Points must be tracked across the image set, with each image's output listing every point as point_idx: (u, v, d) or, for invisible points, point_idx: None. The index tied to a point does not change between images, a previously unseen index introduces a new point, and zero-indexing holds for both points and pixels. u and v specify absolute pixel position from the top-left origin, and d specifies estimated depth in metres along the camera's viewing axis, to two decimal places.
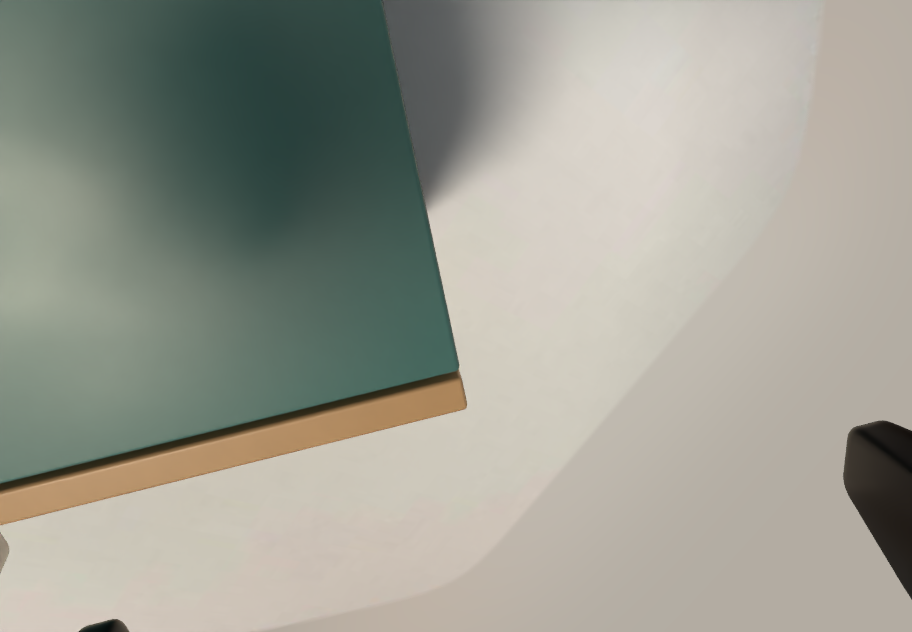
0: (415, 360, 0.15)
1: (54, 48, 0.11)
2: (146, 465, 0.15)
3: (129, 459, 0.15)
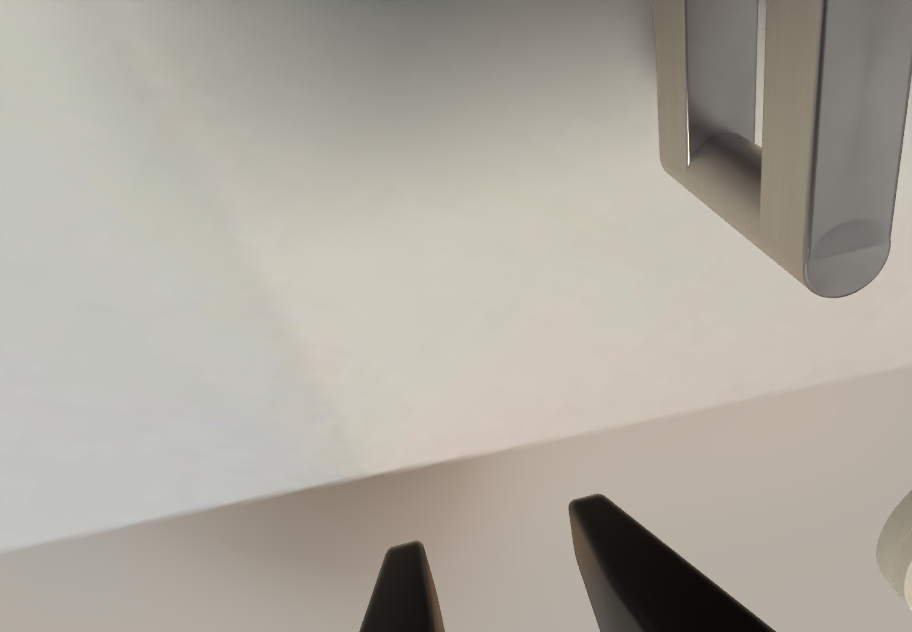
0: None
1: None
2: None
3: None
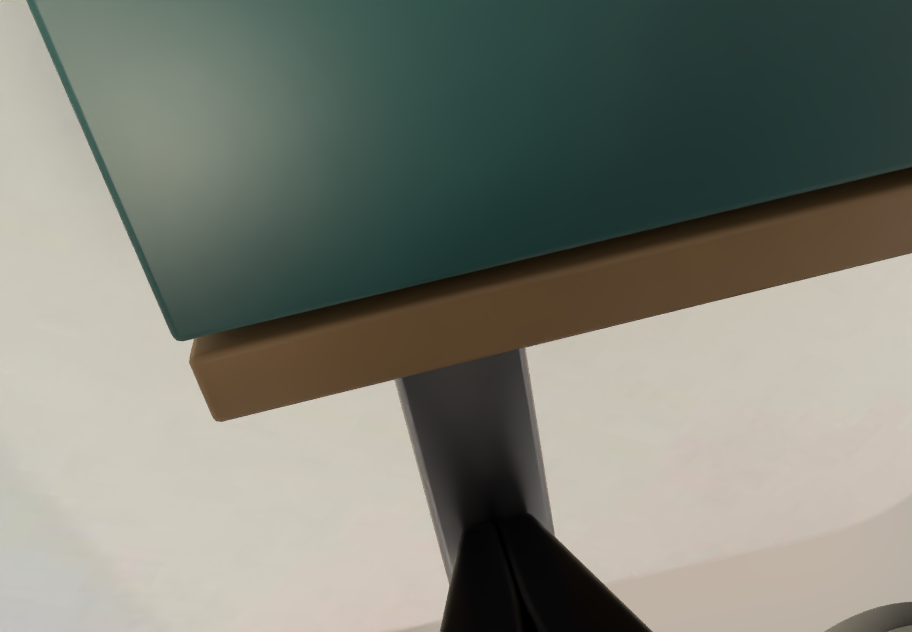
0: None
1: None
2: None
3: None
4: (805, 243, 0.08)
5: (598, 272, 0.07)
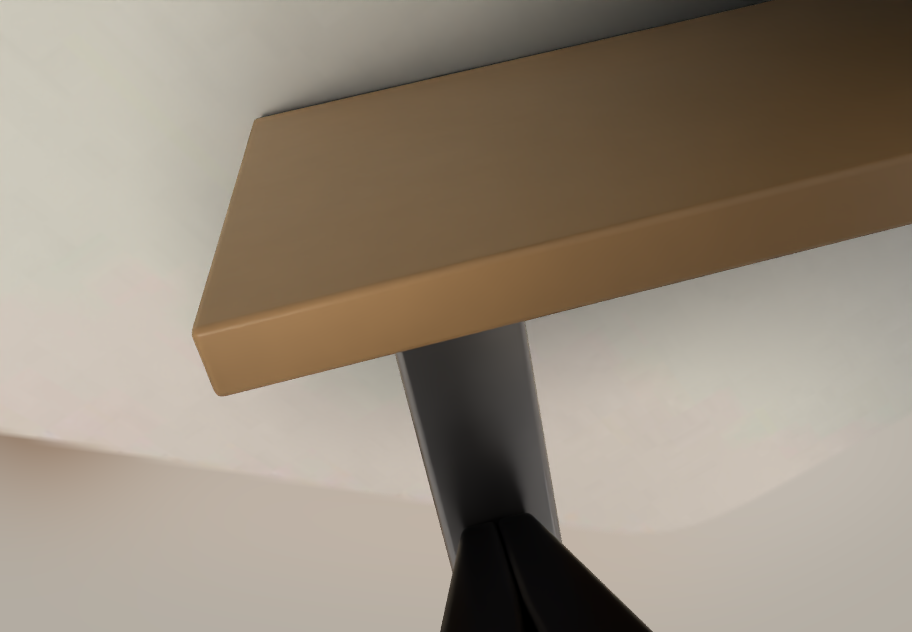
0: None
1: None
2: None
3: None
4: (799, 214, 0.08)
5: (595, 243, 0.08)
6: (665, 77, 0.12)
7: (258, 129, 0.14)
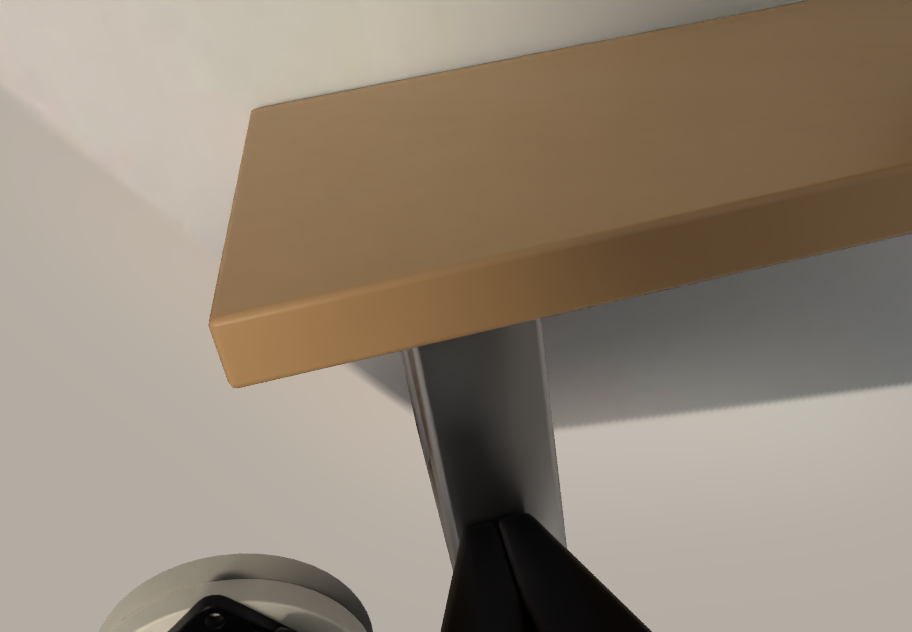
0: None
1: None
2: None
3: None
4: (816, 219, 0.08)
5: (615, 241, 0.08)
6: (670, 80, 0.12)
7: (257, 119, 0.14)
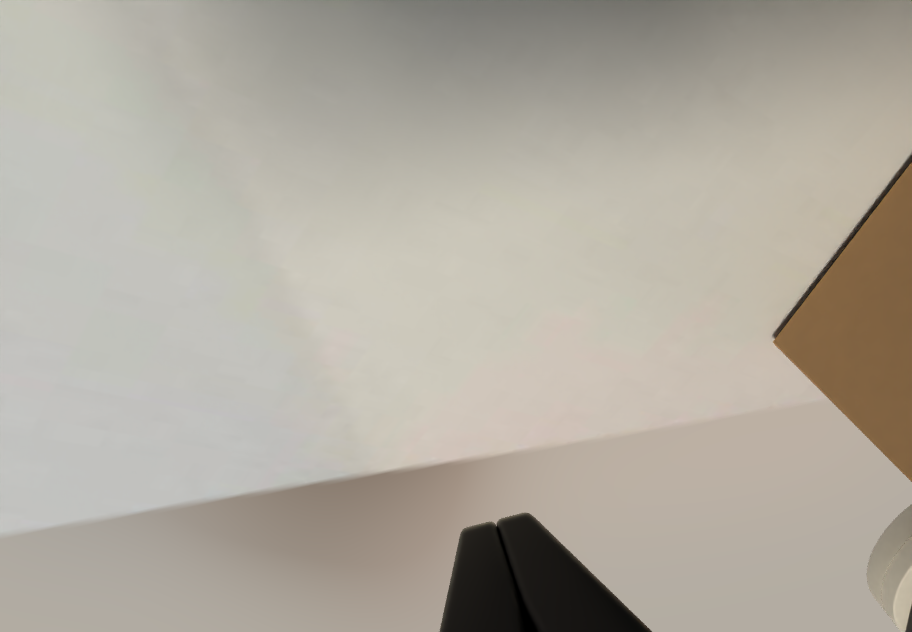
0: None
1: None
2: None
3: None
4: None
5: None
6: None
7: (794, 356, 0.23)
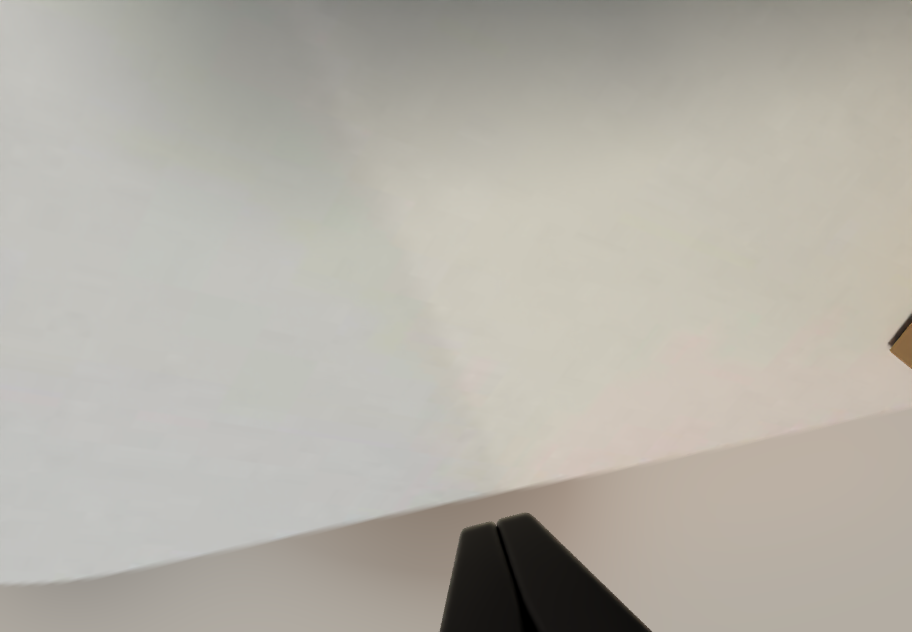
0: None
1: None
2: None
3: None
4: None
5: None
6: None
7: None
